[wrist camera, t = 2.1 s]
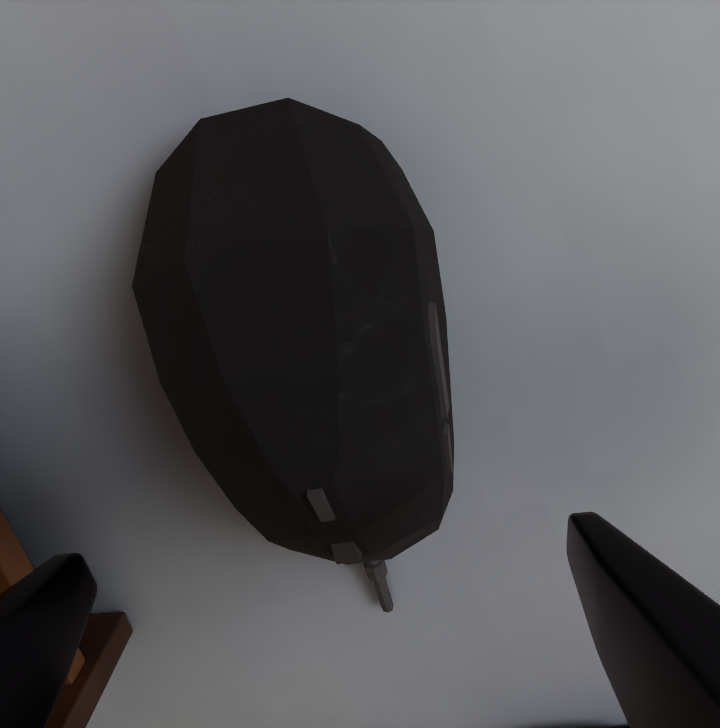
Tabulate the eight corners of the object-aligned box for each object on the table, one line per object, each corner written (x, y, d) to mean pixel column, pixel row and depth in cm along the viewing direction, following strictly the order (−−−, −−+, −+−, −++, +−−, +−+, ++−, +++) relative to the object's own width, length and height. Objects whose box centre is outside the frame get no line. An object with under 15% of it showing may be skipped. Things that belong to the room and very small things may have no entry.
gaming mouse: (296, 612, 17) (273, 745, 13) (116, 144, 11) (-17, 152, 7) (483, 590, 16) (514, 724, 12) (404, 73, 10) (419, 41, 6)
